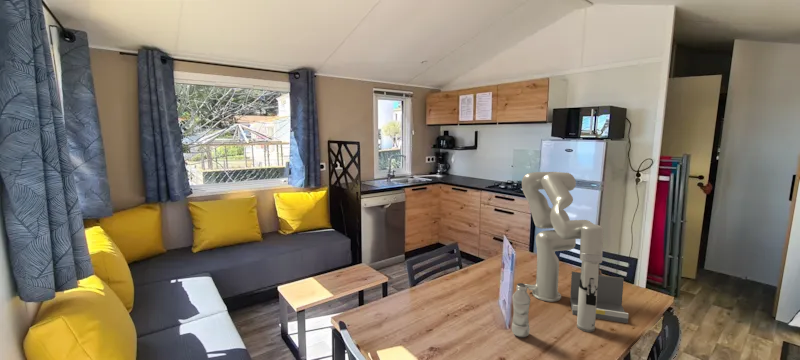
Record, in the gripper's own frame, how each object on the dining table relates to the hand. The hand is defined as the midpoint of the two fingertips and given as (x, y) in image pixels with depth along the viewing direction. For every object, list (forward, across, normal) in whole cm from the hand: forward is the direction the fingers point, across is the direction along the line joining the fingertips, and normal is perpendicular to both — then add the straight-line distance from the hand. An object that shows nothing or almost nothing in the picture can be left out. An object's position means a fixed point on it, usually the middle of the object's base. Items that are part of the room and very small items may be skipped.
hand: (589, 299), depth 134 cm
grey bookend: (+12, -17, +6) cm, 21 cm away
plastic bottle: (+12, +13, -24) cm, 30 cm away
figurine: (+11, -50, +8) cm, 52 cm away
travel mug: (+12, -1, 0) cm, 12 cm away
